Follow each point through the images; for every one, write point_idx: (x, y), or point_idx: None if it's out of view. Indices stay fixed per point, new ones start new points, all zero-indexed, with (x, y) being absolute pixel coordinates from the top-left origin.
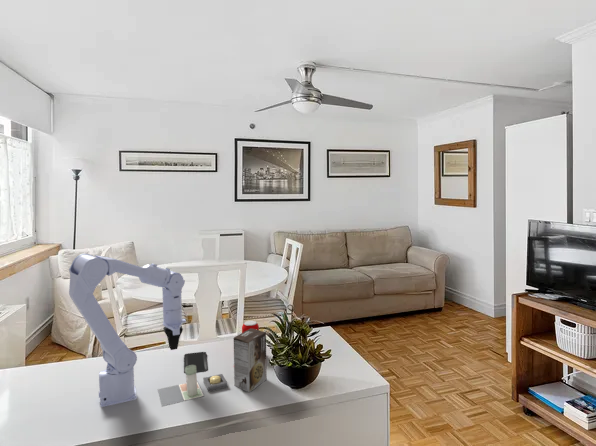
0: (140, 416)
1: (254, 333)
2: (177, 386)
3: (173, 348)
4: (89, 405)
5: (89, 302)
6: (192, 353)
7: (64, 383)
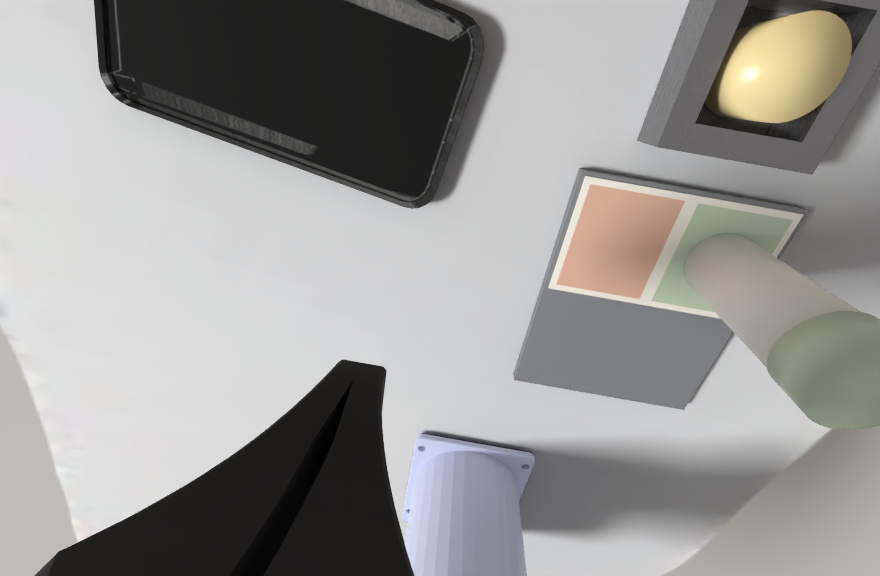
0: (663, 469)
1: None
2: (559, 297)
3: (381, 405)
4: None
5: None
6: (103, 21)
7: None
